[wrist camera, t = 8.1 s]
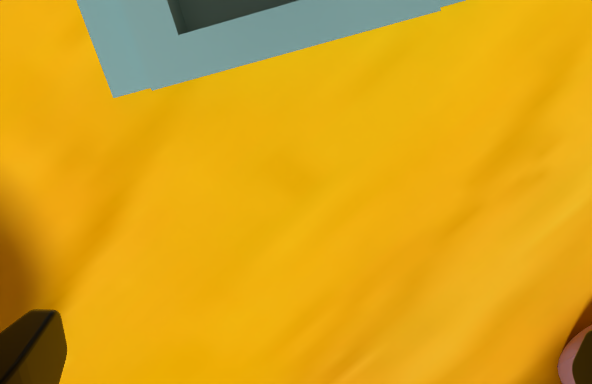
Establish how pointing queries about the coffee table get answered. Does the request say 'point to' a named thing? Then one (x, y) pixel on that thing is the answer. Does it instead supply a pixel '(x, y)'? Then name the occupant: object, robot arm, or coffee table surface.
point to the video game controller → (570, 357)
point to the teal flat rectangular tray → (222, 33)
